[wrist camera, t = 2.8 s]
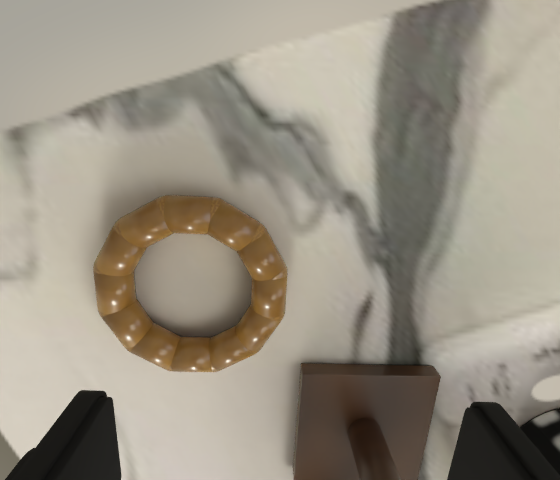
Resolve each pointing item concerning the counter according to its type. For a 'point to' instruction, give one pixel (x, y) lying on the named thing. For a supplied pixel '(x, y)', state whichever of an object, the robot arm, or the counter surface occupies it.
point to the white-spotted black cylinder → (546, 436)
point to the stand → (363, 421)
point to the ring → (192, 220)
